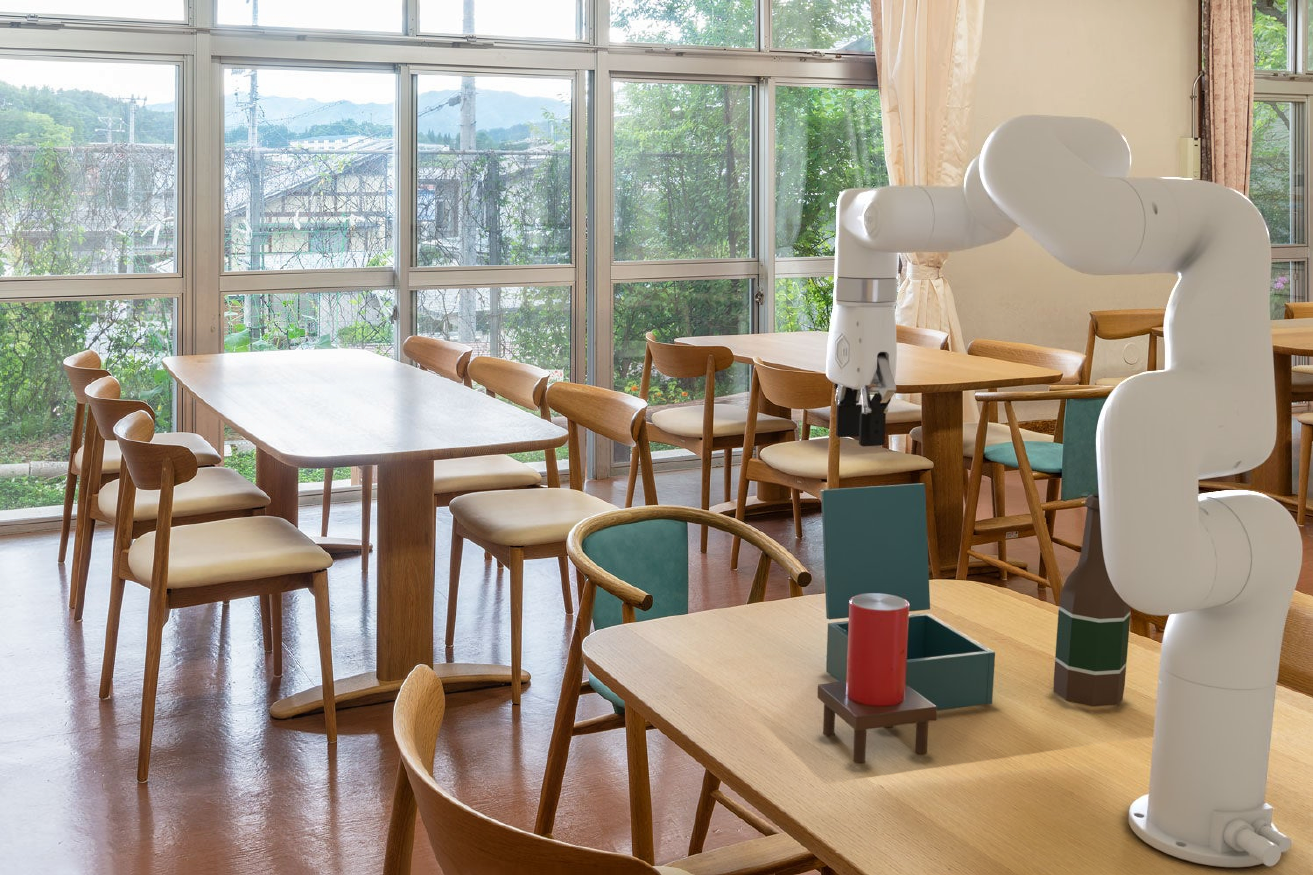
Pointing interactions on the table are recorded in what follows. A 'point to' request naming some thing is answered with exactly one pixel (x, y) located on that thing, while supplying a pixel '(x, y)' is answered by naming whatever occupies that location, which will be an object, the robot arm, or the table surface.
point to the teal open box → (931, 662)
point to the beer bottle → (1091, 626)
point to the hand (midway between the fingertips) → (859, 439)
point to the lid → (875, 545)
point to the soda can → (877, 649)
